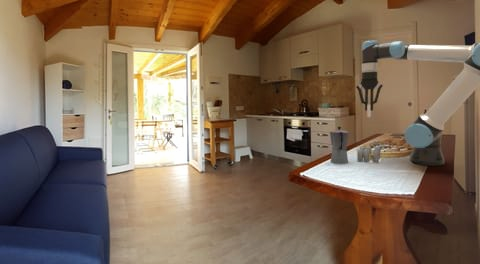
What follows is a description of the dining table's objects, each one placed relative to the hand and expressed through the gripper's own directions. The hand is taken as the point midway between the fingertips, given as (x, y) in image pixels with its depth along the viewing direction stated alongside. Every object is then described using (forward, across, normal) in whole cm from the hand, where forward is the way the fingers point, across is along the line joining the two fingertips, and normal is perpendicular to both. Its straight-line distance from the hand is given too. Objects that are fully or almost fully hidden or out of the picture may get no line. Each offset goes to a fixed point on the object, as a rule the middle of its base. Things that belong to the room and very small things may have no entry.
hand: (369, 116), depth 156 cm
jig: (+24, 0, 0) cm, 24 cm away
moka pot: (+25, +13, +10) cm, 30 cm away
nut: (+23, 0, 0) cm, 23 cm away
